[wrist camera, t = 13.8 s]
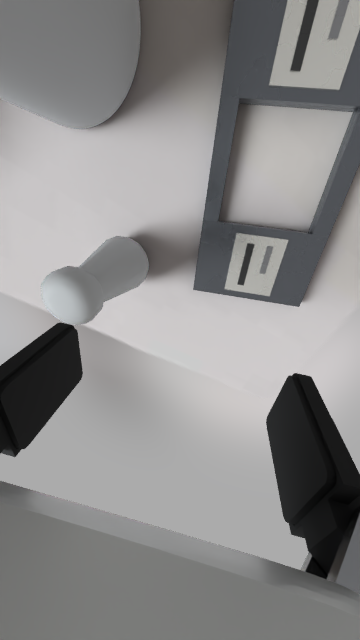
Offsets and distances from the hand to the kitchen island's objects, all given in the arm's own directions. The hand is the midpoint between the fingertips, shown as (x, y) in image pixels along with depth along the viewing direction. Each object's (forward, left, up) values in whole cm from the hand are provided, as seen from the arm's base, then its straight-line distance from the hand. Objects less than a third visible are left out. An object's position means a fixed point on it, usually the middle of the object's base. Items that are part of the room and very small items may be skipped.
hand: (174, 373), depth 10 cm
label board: (-9, +5, -18) cm, 21 cm away
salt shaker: (+1, -9, -18) cm, 20 cm away
